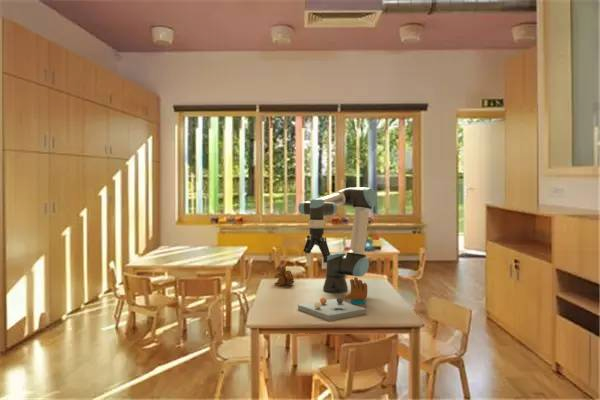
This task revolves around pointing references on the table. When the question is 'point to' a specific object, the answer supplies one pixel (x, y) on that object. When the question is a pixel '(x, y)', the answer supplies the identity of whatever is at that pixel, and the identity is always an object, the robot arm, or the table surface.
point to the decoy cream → (317, 305)
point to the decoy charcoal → (339, 300)
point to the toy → (357, 292)
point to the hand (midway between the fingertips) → (316, 266)
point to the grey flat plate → (332, 310)
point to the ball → (323, 300)
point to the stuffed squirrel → (284, 276)
